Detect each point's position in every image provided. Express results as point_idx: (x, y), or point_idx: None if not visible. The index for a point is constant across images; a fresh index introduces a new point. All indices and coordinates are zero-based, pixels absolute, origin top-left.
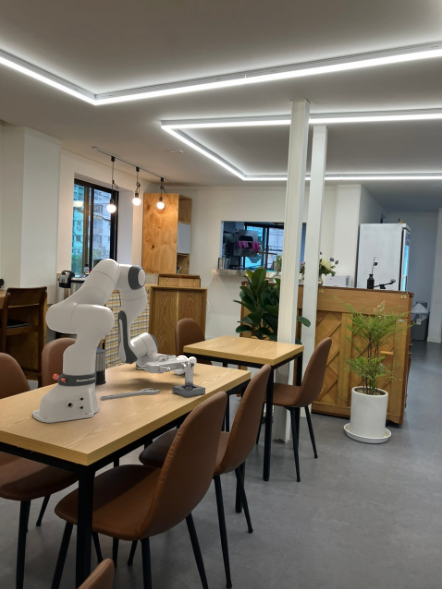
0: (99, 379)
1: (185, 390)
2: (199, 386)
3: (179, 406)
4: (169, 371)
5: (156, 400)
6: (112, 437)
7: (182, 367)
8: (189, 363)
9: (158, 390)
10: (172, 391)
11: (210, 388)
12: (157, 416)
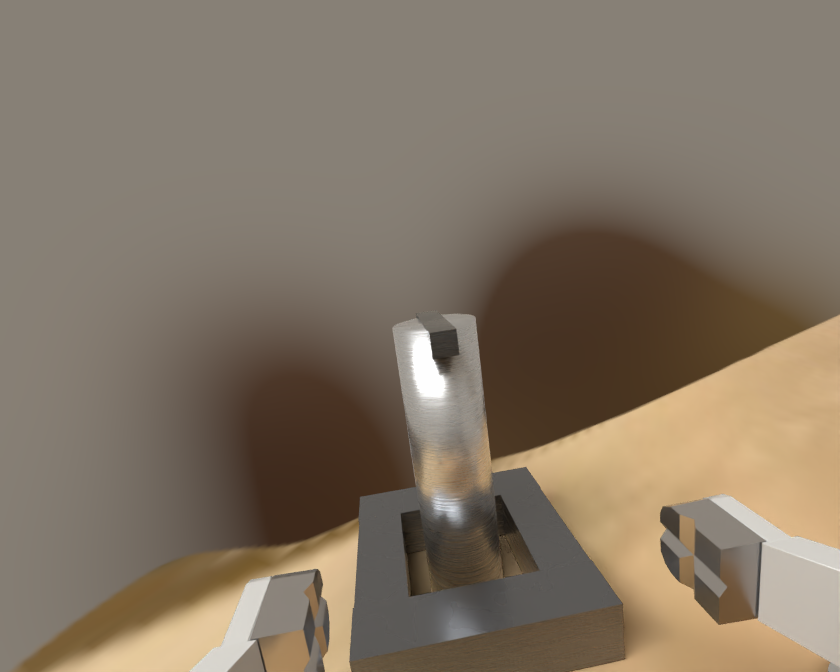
0: None
1: (529, 481)
2: (368, 533)
3: (612, 423)
4: (666, 554)
5: (775, 504)
6: (834, 328)
7: (312, 660)
8: (451, 315)
9: (829, 668)
10: (623, 648)
11: (193, 647)
12: (717, 378)
